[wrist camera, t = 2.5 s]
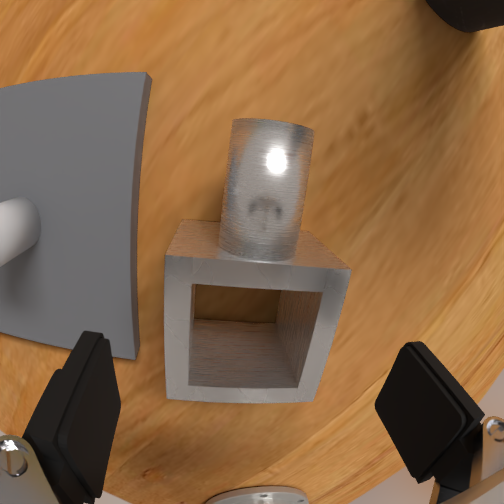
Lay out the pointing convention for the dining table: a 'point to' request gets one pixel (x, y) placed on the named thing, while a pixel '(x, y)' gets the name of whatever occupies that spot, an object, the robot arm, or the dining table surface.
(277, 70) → the dining table surface
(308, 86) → the dining table surface
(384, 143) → the dining table surface
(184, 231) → the grey hollow block
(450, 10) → the travel mug
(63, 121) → the plate
